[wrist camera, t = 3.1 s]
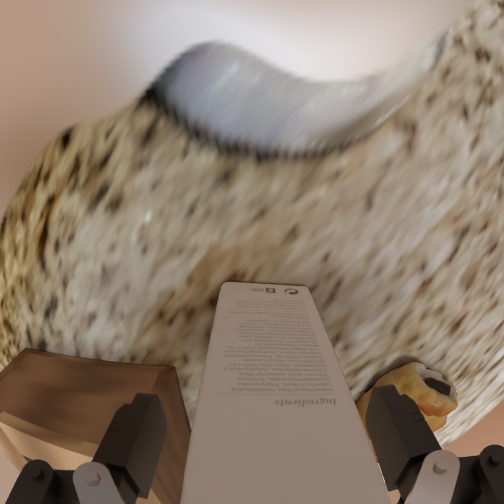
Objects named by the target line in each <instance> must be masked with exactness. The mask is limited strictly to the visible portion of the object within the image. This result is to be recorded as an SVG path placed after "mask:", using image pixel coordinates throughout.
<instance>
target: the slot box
mask: <svg viewBox="0 0 504 504" xmlns="http://www.w3.org/2000/svg"><path fill="white" fill-rule="evenodd" d="M138 392H141V393H150V394H157V395H158V397H159V399H160V403H161V406H162V409H163V412H164V415H165V418H166V421H167V433H166V437H165V440H164V444H163V447H162V450H161V454H160V457H159V460H158V464H157V467H156V471H155V474H154V478H153V481H152V485H151V488H150V492H149V495H148V499H144V498H139V497H137V501H136V504H180V501H181V496H182V489H183V480H184V472H185V467H186V463H187V455H188V449H189V443H190V437H191V428H190V425H189V421H188V417H187V414H186V410H185V406H184V402H183V399H182V395H181V391H180V387H179V382H178V378H177V374H176V370H175V367H165V366H150V365H138V364H127V363H117V362H108V361H100V360H93V359H85V358H79V357H72V356H66V355H60V354H55V353H49V352H44V351H39V350H34V349H29V348H25V349H24V350H23V351H22V352H21V353H20V354H18V355H17V356H16V357H15V358H14V359H13V360H12V361H11V362H10V363H9V364H8V365H7V366H6V367H5V368H4V369H3V370H2V371H1V372H0V449H1V450H2V451H3V453H4V454H5V455H6V456H7V458H8V459H9V460H10V461H11V462H12V464H13V465H14V466H15V467H16V468H17V469H18V470H19V472H20V473H21V471H22V469H23V467H24V466H25V464H26V463H28V462H29V461H32V460H35V459H40V460H44V461H46V462H47V463H48V464H50V466H51V467H52V468H53V469H58V470H76V468H77V467H78V466H80V465H81V464H83V463H86V462H91V461H92V459H93V457H94V455H95V453H96V451H97V449H98V447H99V445H100V443H101V441H102V439H103V437H104V435H105V433H106V431H107V428H108V426H109V424H110V423H111V420H112V418H113V416H114V414H115V412H116V411H117V410H118V409H119V408H120V407H122V406H123V405H124V404H125V403H126V404H131V403H132V401H133V399H134V397H135V395H136V394H137V393H138Z"/></svg>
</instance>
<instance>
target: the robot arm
mask: <svg viewBox="0 0 504 504" xmlns="http://www.w3.org/2000/svg"><path fill="white" fill-rule="evenodd" d="M365 424H366V428H367V431H368V434H369V437H370V439H371V442H372V445H373V448H374V451H375V453H376V456H377V459H378V462H379V465H380V468H381V471H382V474H383V477H384V480H385V483H386V486H387V489H388V491H392V490H396V489H398V490H399V492H400V496H399V497H398V499H397V501H396V503H395V504H504V447H502V446H500V445H490V446H488V447H486V448H484V450H483V451H482V452H481V453H480V455H478V456H469V457H457V456H456V455H455V454H454V453H452V452H450V451H447V450H442V448H441V447H440V445H439V443H438V441H437V439H436V438H435V436H434V434H433V432H432V430H431V428H430V427H429V425H428V423H427V421H425V418H424V416H423V414H422V413H421V411H420V409H419V407H418V405H417V404H416V402H415V401H414V400H413V399H411V398H410V397H409V396H408V395H406V394H404V395H400V394H399V392H398V391H397V389H396V387H395V386H394V385H393V384H388V385H383V386H377V387H374V388H373V389H372V392H371V396H370V400H369V404H368V407H367V411H366V415H365ZM166 433H167V421H166V418H165V415H164V412H163V409H162V406H161V403H160V399H159V397H158V395H157V394H150V393H141V392H138V393H137V394H136V395H135V397H134V399H133V401H132V403H131V404H126V403H125V404H124V405H123V406H122V407H120V408H119V409H118V410H117V411H116V412H115V414H114V416H113V418H112V420H111V423H110V424H109V426H108V428H107V431H106V433H105V435H104V437H103V439H102V441H101V443H100V445H99V447H98V449H97V451H96V453H95V455H94V457H93V459H92V461H91V462H86V463H83V464H81V465H80V466H78V467H77V468H76V470H58V469H53V468H52V467H51V466H50V464H48V463H47V462H46V461H44V460H40V459H35V460H32V461H29V462H28V463H26V464H25V466H24V467H23V469H22V471H21V473H20V475H19V477H18V479H17V481H16V482H15V484H14V487H13V489H12V491H11V493H10V495H9V497H8V499H7V501H6V503H5V504H136V501H137V497H139V498H144V499H148V495H149V492H150V488H151V485H152V481H153V478H154V474H155V471H156V467H157V464H158V460H159V457H160V454H161V450H162V447H163V444H164V440H165V437H166Z"/></svg>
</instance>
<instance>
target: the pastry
mask: <svg viewBox="0 0 504 504" xmlns="http://www.w3.org/2000/svg"><path fill="white" fill-rule="evenodd" d="M388 384H393V385H394V386H395V387H396V389H397V391H398V392H399V394H400V395H404V394H406V395H408V396H409V397H410V398H411V399H413V400H414V401H415V402H416V404H417V405H418V407H419V409H420V411H421V413H422V414H423V416H424V418H425V421H427V423H428V425H429V427H430V428H431V430H432V432H435V431H436V430H438V429H440V428H442V427H443V426H444V425H445V424H446V419H447V414H449V413H450V412H451V411H453V410H455V409H456V408H457V406H458V403H457V400H456V399H457V393H456V390H455V387H454V385H453V383H452V382H449V381H447V380H445V379H443V378H442V374H441V373H439V372H438V371H433V370H427V369H426V367H425V365H424V364H421V363H418V362H412V363H409V364H406V365H404V366H402V367H400V368H396V369H394V370H392V371H390V372H388V373H387V374H385V375H384V376H382V377H381V378H379V379H378V380H377V382H376V384H375V385H374V386H373V387H372V389H373V388H374V387H377V386H383V385H388ZM372 389H371V390H369V391H368V392H365V393H364V395H363V396H362V397H361V399H360V400H359V401H358V402H357V403H356V407H357V410H358V412H359V415H360V417H361V420H362V423H363V426H364V428H365V431H366V434H367V436H368V439H369V442H370V445H371V447H372V450H373V453H374V455H375V458H376V461H377V463H379V462H378V459H377V456H376V453H375V451H374V448H373V445H372V442H371V439H370V437H369V434H368V431H367V428H366V424H365V415H366V411H367V407H368V404H369V400H370V396H371V392H372Z"/></svg>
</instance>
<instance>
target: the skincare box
mask: <svg viewBox="0 0 504 504" xmlns="http://www.w3.org/2000/svg"><path fill="white" fill-rule="evenodd" d="M180 504H391V502H390V499H389V496H388V494H387V490H386V487H385V484H384V481H383V478H382V475H381V472H380V469H379V467H378V464H377V461H376V458H375V455H374V453H373V450H372V447H371V445H370V442H369V439H368V436H367V434H366V431H365V428H364V426H363V423H362V420H361V417H360V415H359V412H358V410H357V407H356V405H355V402H354V400H353V397H352V395H351V392H350V389H349V387H348V384H347V381H346V379H345V376H344V374H343V371H342V369H341V366H340V364H339V361H338V359H337V356H336V353H335V351H334V348H333V346H332V343H331V341H330V339H329V336H328V334H327V331H326V329H325V326H324V324H323V321H322V319H321V317H320V314H319V312H318V309H317V307H316V305H315V302H314V300H313V298H312V296H311V293H310V291H309V289H308V288H307V287H305V286H288V285H275V284H259V283H240V282H225V283H223V284H222V286H221V289H220V293H219V297H218V302H217V307H216V312H215V317H214V322H213V327H212V332H211V336H210V341H209V346H208V350H207V354H206V359H205V364H204V369H203V374H202V379H201V384H200V389H199V394H198V399H197V405H196V410H195V415H194V420H193V426H192V431H191V437H190V443H189V449H188V455H187V463H186V467H185V472H184V480H183V489H182V496H181V501H180Z"/></svg>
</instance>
